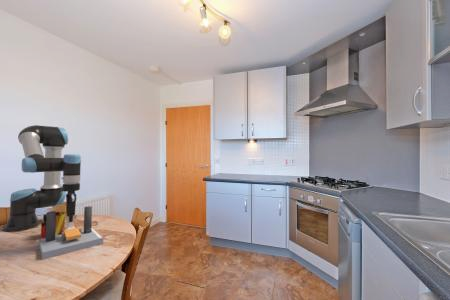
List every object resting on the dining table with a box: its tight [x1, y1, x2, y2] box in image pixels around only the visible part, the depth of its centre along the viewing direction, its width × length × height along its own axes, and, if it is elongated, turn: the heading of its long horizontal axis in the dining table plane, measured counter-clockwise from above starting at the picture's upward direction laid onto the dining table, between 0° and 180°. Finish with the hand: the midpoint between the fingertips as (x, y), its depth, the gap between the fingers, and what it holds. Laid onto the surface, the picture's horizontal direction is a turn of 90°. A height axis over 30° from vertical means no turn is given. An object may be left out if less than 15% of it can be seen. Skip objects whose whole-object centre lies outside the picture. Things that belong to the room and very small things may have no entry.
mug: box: [40, 211, 66, 239], centre depth 118 cm, size 10×14×12 cm
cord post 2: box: [83, 205, 93, 233], centre depth 117 cm, size 4×4×14 cm
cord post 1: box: [46, 210, 57, 242], centre depth 106 cm, size 4×4×14 cm
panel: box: [38, 227, 104, 260], centre depth 108 cm, size 20×24×7 cm
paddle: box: [63, 225, 81, 241], centre depth 108 cm, size 12×6×2 cm, turn 45°
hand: (70, 227), depth 111 cm, fingers closed, pressing on paddle
